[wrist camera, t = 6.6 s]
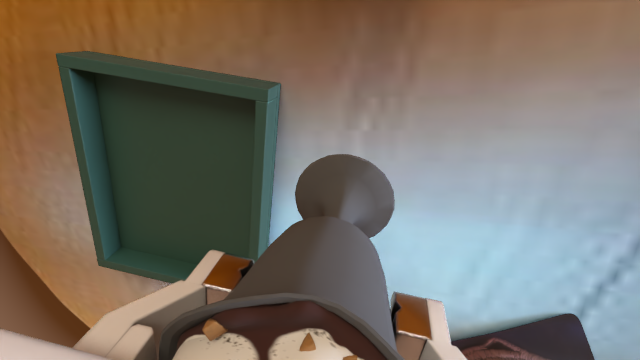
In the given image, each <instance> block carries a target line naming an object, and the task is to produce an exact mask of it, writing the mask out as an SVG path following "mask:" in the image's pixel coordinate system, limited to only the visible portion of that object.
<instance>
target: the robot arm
mask: <svg viewBox="0 0 640 360" xmlns="http://www.w3.org/2000/svg"><path fill="white" fill-rule="evenodd" d="M253 265H254V260H253V259H250V258H246V257H242V256H238V255H234V254H230V253H224V252H221V251H217V250H213V249H212V250H210V251H209V252H208V253H207V254H206V255H205V256H204V258H203V259H202V260H201V261H200V263H199V264H198V265H197V266H196V268H195V269H194V270H193V272H192V273H191V274H190V275H189V277H188V278H187V279H186V280H185V281H182V280H180V281H178V282H176V283H173V284H171V285H169V286H167V287H164V288H162V289H160V290H158V291H155V292H153V293H151V294H149V295H147V296H144V297H142V298H140V299H138V300H135V301H133V302H131V303H129V304H126V305H124V306H122V307H120V308H118V309H115V310H113V311H111V312H109V313H106V314H105V315H104V316H103V317H102V318H101V319H100V320H99V321H98V322H97V323H96V324H95V325H94V326H93V327H92V328H91V329H90V330H89V331H88V332H87V333H86V334H85V335H84V337H82V338H81V340H80V341H79V342H78V343H77V344H76V345H75V346H74V347H73V348H70V347H66V346H63V345H59V344H55V343H52V342H48V341H44V340H41V339H37V338H34V337H30V336H27V335H23V334H19V333H16V332H12V331H8V330H5V329H1V328H0V360H159V342H160V337H161V332H162V331H163V329H164V328H165V327H166V326H167V325H168V324H169V323H170V322H171V321H173V320H174V319H175V318H177V317H178V316H179V315H181V314H183V313H185V312H188V311H191V310H193V309H196V308H199V307H201V306H204V305H208V304H211V303H214V302H218V301H221V300H224V299H225V298H226V297H227V295H228V294H229V293H230V292H231V291H232V290H233V289H234V288H235V287H236V286H237V285H238V284H239V282H240V281H241V280H242V279H243V277H244V276H245V275H246V274H247V272H248V271H249V270H250V269H251V267H252V266H253ZM390 314H391V321H392V327H393V333H394V338H395V343H396V348H397V352H398V353H399V354H400V355H401V356H402V357H403V358H404V359H405V360H467V359H466V357H465V356H464V355H463V354H462V353H461V351H460V350H459V349H458V348H457V347H456V346H452V345H451V340H450V335H449V330H448V325H447V320H446V315H445V310H444V305H443V303H442V302H441V301H437V300H432V299H427V298H422V297H417V296H413V295H408V294H404V293H399V292H394V293H393V294H392V298H391V308H390Z"/></svg>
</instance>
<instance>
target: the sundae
mask: <svg viewBox="0 0 640 360" xmlns="http://www.w3.org/2000/svg"><path fill="white" fill-rule="evenodd" d="M295 197H296V204H297V208H298V211H299V213H300V215H301V216H302V218H303V220H301V221H299V222H297V223H295V224H293V225H292V226H290V227H289V228H288V229H287V230H286V231H285V232H284V233H282V234H281V235H280V236H279V237H278V238H277V239H276V240H275V241H274V242H273V243H272V244H271V245H270V246H269V247H268V248H267V249H266V250H265V251H264V253H263V254H262V255H261V256H260V257H259V259H258V260H257V261H256V262H255V264H254V265H253V266H252V267H251V269H250V270H249V271H248V272H247V274H246V275H245V276H244V277H243V279H242V280H241V281H240V282H239V284H238V285H237V286H236V287H235V288H234V289H233V290H232V291H231V292H230V293H229V294H228V295H227V297H226V298H225V299H224V300H221V301H218V302H214V303H211V304H208V305H204V306H201V307H199V308H196V309H193V310H191V311H188V312H185V313H183V314H181V315H179V316H178V317H177V318H175V319H174V320H173V321H171V322H170V323H169V324H168V325H167V326H166V327H165V328H164V329H163V331H162V332H161V337H160V342H159V360H405V359H404V358H403V357H402V356H401V355H400V354H399V353H398V352H397V348H396V343H395V338H394V333H393V327H392V321H391V314H390V307H389V301H388V294H387V287H386V281H385V276H384V273H383V269H382V266H381V263H380V259H379V256H378V253H377V251H376V249H375V247H374V245H373V243H372V242H371V240H370V239H369V238H371V237H373V236H375V235H376V234H377V233H379V232H380V231H381V230H382V229H383V228H384V227H385V226H386V225H387V224H388V222H389V220H390V218H391V216H392V213H393V211H394V192H393V189H392V187H391V184H390V182H389V181H388V179H387V177H386V176H385V174H384V173H383V172H382V171H381V170H380V169H379V168H377V167H376V166H375V165H373V164H372V163H371V162H369V161H367V160H365V159H362V158H360V157H356V156H352V155H346V154H338V155H329V156H326V157H323V158H321V159H319V160H317V161H315V162H313V163H311V164H310V165H309V166H308V167H307V168H306V169H305V170H304V172H303V173H302V174H301V176H300V177H299V180H298V183H297V186H296V191H295Z"/></svg>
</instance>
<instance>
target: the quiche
mask: <svg viewBox="0 0 640 360" xmlns="http://www.w3.org/2000/svg"><path fill="white" fill-rule="evenodd" d="M451 345H452V346H456V347H457V348H458V349H459V350H460V351H461V353H462V354H463V355H464V356H465V357H466V359H467V360H594V357H593V354H592V352H591V349H590V346H589V344H588V341H587V338H586V335H585V333H584V330H583V327H582V325H581V323H580V321H579V319H578V318H577V316H575V315H573V314H564V315H559V316H556V317H552V318H548V319H545V320H541V321H537V322H534V323H530V324H526V325H522V326H519V327H515V328H511V329H507V330H503V331H499V332H495V333H491V334H486V335H481V336H476V337H472V338H467V339H462V340H457V341H452V342H451Z"/></svg>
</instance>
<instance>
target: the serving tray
mask: <svg viewBox="0 0 640 360" xmlns="http://www.w3.org/2000/svg"><path fill="white" fill-rule="evenodd" d="M56 57H57V62H58V66H59V71H60V76H61V81H62V86H63V91H64V96H65V101H66V106H67V111H68V116H69V121H70V126H71V131H72V136H73V141H74V146H75V151H76V156H77V161H78V166H79V171H80V176H81V180H82V185H83V190H84V195H85V200H86V205H87V210H88V215H89V220H90V225H91V230H92V235H93V240H94V245H95V250H96V255H97V261H98V265H99V266H102V267H106V268H110V269H114V270H119V271H123V272H127V273H131V274H135V275H139V276H144V277H148V278H152V279H156V280H160V281H164V282H169V283H176V282H178V281H180V280H182V281H185V280H186V279H187V278H188V277H189V275H190V274H191V273H192V272H193V270H194V269H195V268H196V266H197V265H198V264H199V263H200V261H201V260H202V259H203V258H204V256H205V255H206V254H207V253H208V252H209V251H210V250H212V249H213V250H217V251H221V252H224V253H230V254H234V255H238V256H242V257H246V258H250V259H253V260H254V264H255V262H256V261H257V260H258V259H259V257H260V256H261V255H262V254H263V253H264V251H265V250H266V249H267V248H268V243H269V230H270V217H271V204H272V190H273V177H274V164H275V151H276V138H277V125H278V112H279V99H280V86H281V84H280V83H276V82H270V81H264V80H258V79H252V78H246V77H240V76H234V75H228V74H222V73H216V72H210V71H204V70H198V69H192V68H186V67H180V66H174V65H168V64H162V63H156V62H150V61H144V60H138V59H132V58H126V57H120V56H114V55H108V54H102V53H96V52H90V51H83V52H69V53H56Z"/></svg>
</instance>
